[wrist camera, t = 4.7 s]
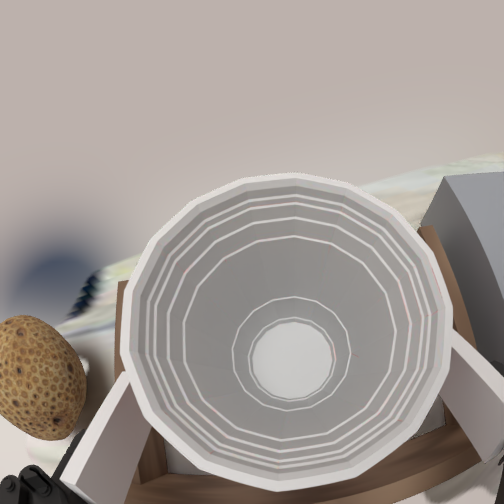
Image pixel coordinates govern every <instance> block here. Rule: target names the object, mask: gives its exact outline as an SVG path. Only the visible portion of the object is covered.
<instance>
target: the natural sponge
mask: <svg viewBox="0 0 504 504" xmlns="http://www.w3.org/2000/svg"><path fill="white" fill-rule="evenodd" d="M86 390H87V381H86V375H85V372H84V369H83V366H82V363H81V361H80V359H79V357H78V356H77V354H76V353H75V351H74V349H73V348H72V347H71V345H70V344H69V343H68V342H67V341H66V340H65V339H64V338H63V337H62V336H61V335H60V334H59V332H58V331H56V330H55V329H54V328H53V327H52V326H50V325H48V324H47V323H45V322H44V321H42V320H40V319H38V318H35V317H32V316H26V315H20V316H14V317H11V318H8V319H6V320H5V321H4V322H2V323H0V414H1V415H2V416H3V417H4V418H5V419H7V420H8V421H9V422H11V423H12V424H13V425H14V426H16V427H18V428H19V429H21V430H22V431H24V432H26V433H28V434H29V435H31V436H33V437H35V438H38V439H42V440H48V441H55V440H62V439H65V438H67V437H68V436H69V435H70V433H71V432H72V431H73V429H74V427H75V425H76V422H77V420H78V418H79V415H80V412H81V410H82V408H83V406H84V404H85V399H86Z"/></svg>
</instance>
